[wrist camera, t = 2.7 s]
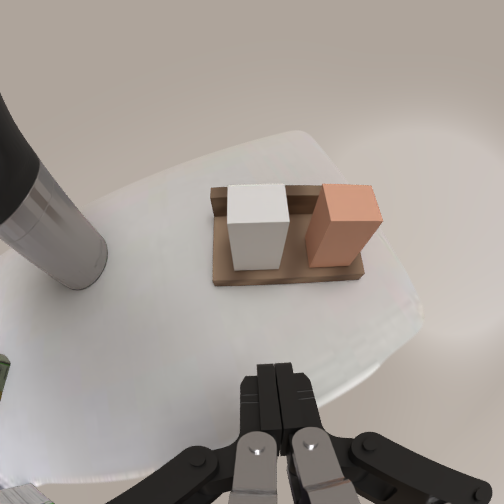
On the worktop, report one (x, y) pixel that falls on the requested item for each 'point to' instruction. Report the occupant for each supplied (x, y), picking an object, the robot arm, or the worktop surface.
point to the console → (294, 251)
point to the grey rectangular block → (257, 225)
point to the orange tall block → (341, 224)
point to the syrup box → (23, 495)
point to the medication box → (3, 371)
